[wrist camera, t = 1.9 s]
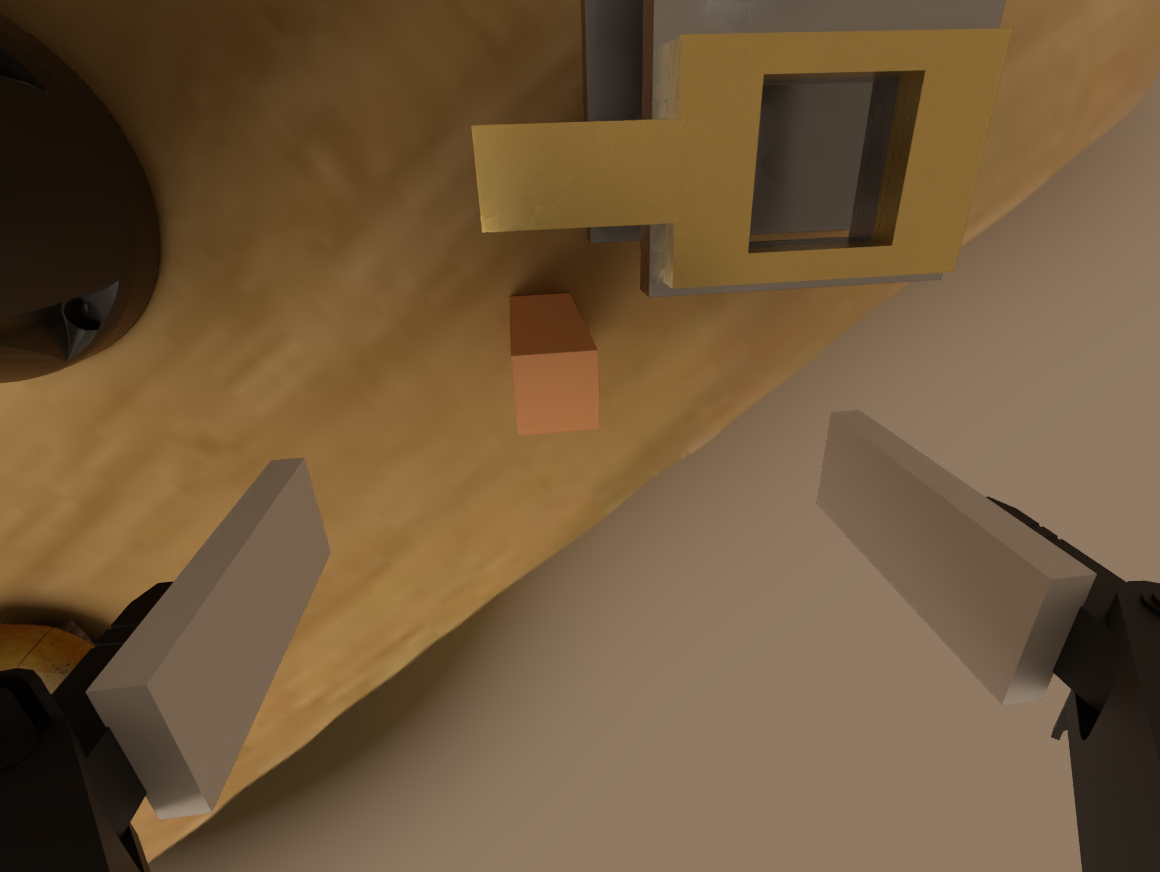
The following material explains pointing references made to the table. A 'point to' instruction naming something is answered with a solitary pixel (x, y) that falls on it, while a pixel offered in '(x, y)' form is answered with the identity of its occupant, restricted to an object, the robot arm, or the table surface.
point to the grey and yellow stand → (762, 140)
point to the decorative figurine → (44, 649)
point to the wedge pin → (552, 366)
